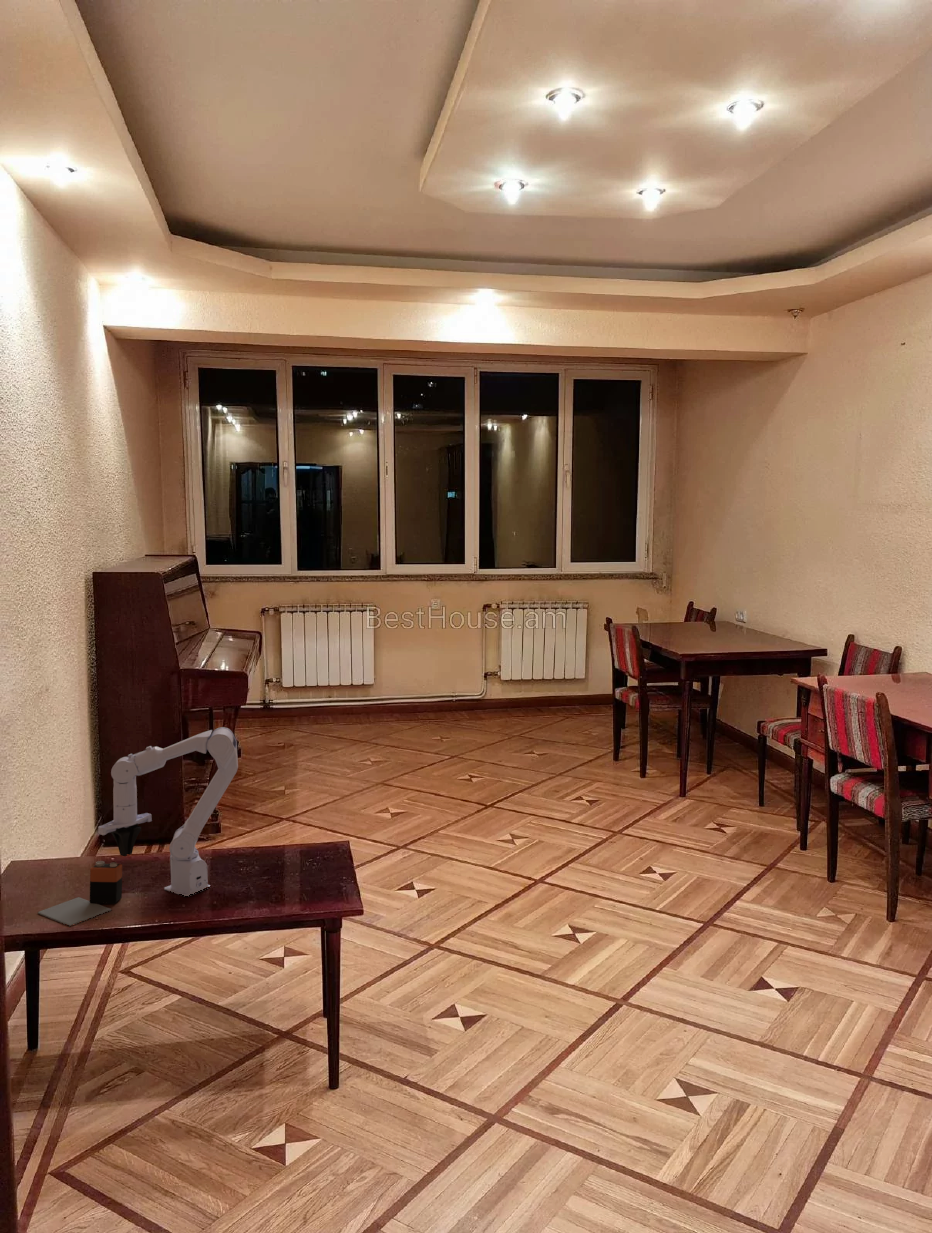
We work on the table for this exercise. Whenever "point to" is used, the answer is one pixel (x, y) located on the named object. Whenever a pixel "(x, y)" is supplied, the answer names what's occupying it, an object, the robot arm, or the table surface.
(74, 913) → the mat
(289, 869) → the table surface
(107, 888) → the battery
